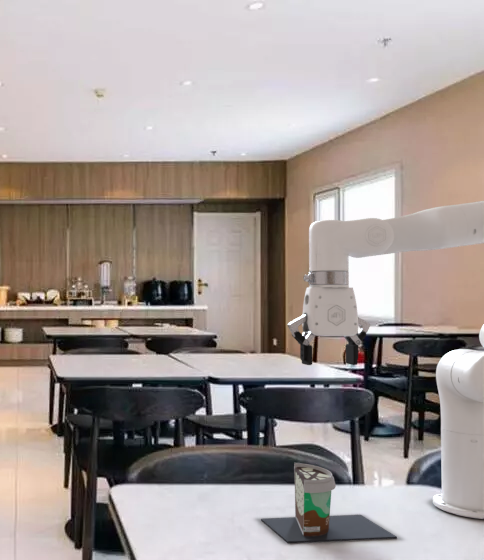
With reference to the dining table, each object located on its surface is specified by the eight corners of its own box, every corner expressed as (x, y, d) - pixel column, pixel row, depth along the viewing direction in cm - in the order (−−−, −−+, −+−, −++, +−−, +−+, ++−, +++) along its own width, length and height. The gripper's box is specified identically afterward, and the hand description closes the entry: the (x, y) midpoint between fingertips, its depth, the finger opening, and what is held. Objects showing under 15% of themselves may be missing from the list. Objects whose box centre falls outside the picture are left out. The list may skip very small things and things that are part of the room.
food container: (342, 542, 106) (342, 483, 106) (304, 539, 107) (304, 480, 107) (328, 517, 118) (327, 464, 118) (294, 514, 119) (293, 462, 119)
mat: (360, 516, 119) (360, 514, 119) (397, 538, 108) (397, 536, 108) (260, 520, 117) (260, 518, 117) (287, 543, 106) (287, 541, 106)
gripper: (297, 280, 123) (297, 366, 122) (379, 280, 125) (379, 365, 124) (280, 280, 130) (280, 362, 130) (357, 281, 132) (358, 362, 132)
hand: (329, 364), depth 127 cm, fingers open, 9 cm apart
